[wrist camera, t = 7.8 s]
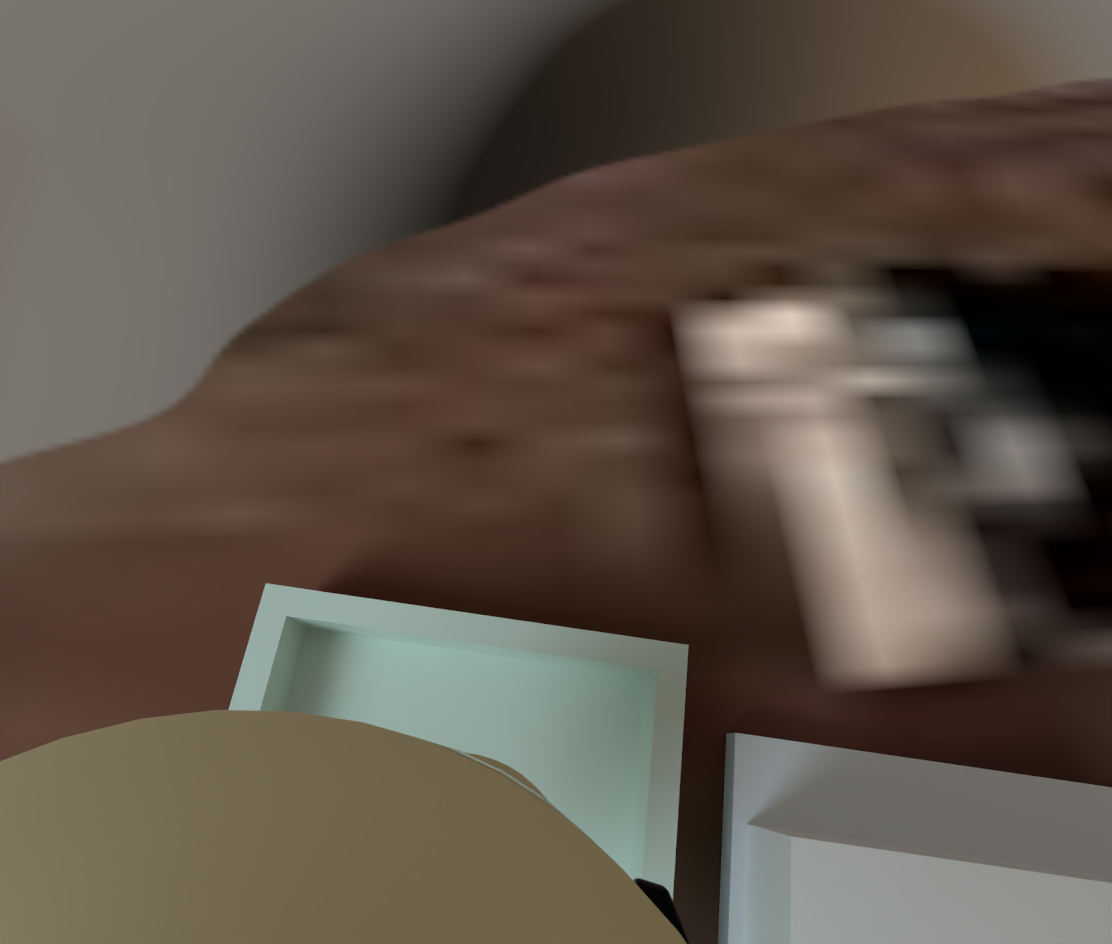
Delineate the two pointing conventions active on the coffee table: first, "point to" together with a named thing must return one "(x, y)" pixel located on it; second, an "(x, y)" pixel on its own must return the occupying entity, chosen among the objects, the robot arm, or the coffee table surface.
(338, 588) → the coffee table surface
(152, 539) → the coffee table surface
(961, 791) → the grey block with recess
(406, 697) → the parts tray
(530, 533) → the coffee table surface
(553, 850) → the cream rounded cylinder
